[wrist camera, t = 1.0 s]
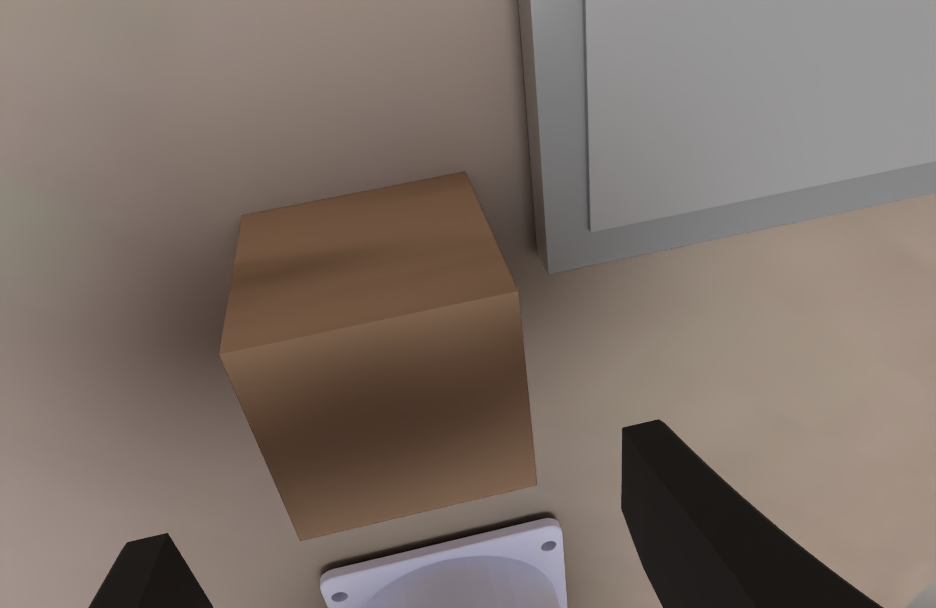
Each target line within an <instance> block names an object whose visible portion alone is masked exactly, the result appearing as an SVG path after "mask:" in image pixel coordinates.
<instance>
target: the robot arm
mask: <svg viewBox="0 0 936 608" xmlns="http://www.w3.org/2000/svg"><path fill="white" fill-rule="evenodd" d="M621 509H622V512H623V515H624V517H625V520H626V523H627V526H628V528H629V531H630V534H631V537H632V539H633V542H634V545H635V547H636V550H637V552H638V555H639V558H640V560H641V563H642V565H643V568H644V570H645V572H646V574H647V576H648V578H649V580H650V582H651V584H652V586H653V588H654V590H655V592H656V594H657V596H658V598H659V600H660V602H661V604H662V606H663V608H883V607H882V606H880V605H879V604H877V603H876V602H874V601H873V600H871V599H870V598H869V597H867V596H866V595H864V594H863V593H862V592H860V591H859V590H858V589H856V588H855V587H853V586H852V585H851V584H849V583H848V582H847V581H845V580H844V579H843V578H841V577H840V576H839V575H837V574H836V573H835V572H833V571H832V570H831V569H829V568H828V567H827V566H826V565H824V564H823V563H822V562H820V561H819V560H818V559H817V558H815V557H814V556H813V555H811V554H810V553H809V552H808V551H806V550H805V549H804V548H803V547H801V546H800V545H799V544H798V543H796V542H795V541H794V540H793V539H791V538H790V537H789V536H788V535H787V534H785V533H784V532H783V531H782V530H780V529H779V528H778V527H777V526H776V525H775V524H773V523H772V522H771V521H770V520H769V519H768V518H766V517H765V516H764V515H763V514H762V513H761V512H759V511H758V510H757V509H756V508H755V507H754V506H752V505H751V504H750V503H749V502H748V501H747V500H746V499H744V498H743V497H742V496H741V495H740V494H739V493H738V492H736V491H735V490H734V489H733V488H732V487H731V486H730V485H729V484H728V483H726V482H725V481H724V480H723V479H722V478H721V477H720V476H719V475H718V474H717V473H716V472H715V471H714V470H712V469H711V468H710V467H709V466H708V465H707V464H706V463H705V462H704V461H703V460H702V459H701V458H700V457H699V456H698V455H697V454H696V453H695V452H693V451H692V450H691V449H690V448H689V447H688V446H687V445H686V444H685V443H684V442H683V441H682V440H681V439H680V438H679V437H678V436H677V435H676V434H675V433H674V432H673V431H672V430H671V429H670V428H669V427H668V426H667V425H666V424H665V423H664V422H662V421H661V420H659V419H658V420H654V421H650V422H645V423H641V424H637V425H632V426H628V427H624V428H622V495H621ZM320 591H321V593H322V595H323V598H324V600H325V602H326V605H327V607H328V608H567V593H566V579H565V565H564V551H563V537H562V530H561V527H560V525H559V522H558V521H557V520H555V519H552V518H544V519H540V520H536V521H531V522H527V523H523V524H519V525H515V526H511V527H506V528H502V529H498V530H494V531H490V532H486V533H481V534H477V535H473V536H469V537H465V538H461V539H456V540H452V541H448V542H444V543H440V544H436V545H431V546H427V547H423V548H419V549H415V550H411V551H406V552H402V553H398V554H394V555H390V556H386V557H381V558H377V559H373V560H369V561H365V562H361V563H356V564H352V565H348V566H344V567H340V568H336V569H332V570H329V571H327V572H326V573H324V574H323V575H322V576H321V578H320ZM89 608H213V606H212V604H211V603H210V601H209V599H208V598H207V596H206V594H205V593H204V591H203V590H202V588H201V586H200V585H199V583H198V581H197V580H196V578H195V577H194V575H193V573H192V572H191V570H190V568H189V567H188V565H187V564H186V562H185V560H184V559H183V557H182V555H181V554H180V552H179V551H178V549H177V547H176V546H175V544H174V542H173V541H172V539H171V538H170V536H169V534H168V533H165V534H161V535H157V536H152V537H148V538H144V539H139V540H135V541H131V542H127V543H126V545H125V546H124V547H123V549H122V551H121V552H120V554H119V556H118V557H117V559H116V561H115V563H114V564H113V566H112V568H111V569H110V571H109V573H108V575H107V576H106V578H105V580H104V582H103V583H102V585H101V587H100V589H99V590H98V592H97V594H96V596H95V597H94V599H93V601H92V602H91V604H90V606H89Z"/></svg>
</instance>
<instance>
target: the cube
mask: <svg viewBox="0 0 936 608" xmlns="http://www.w3.org/2000/svg"><path fill="white" fill-rule="evenodd" d="M219 356H220V359H221V361H222V363H223V365H224V368H225V370H226V372H227V375H228V377H229V379H230V382H231V384H232V386H233V388H234V391H235V393H236V395H237V398H238V400H239V402H240V404H241V407H242V409H243V411H244V414H245V416H246V418H247V420H248V423H249V425H250V427H251V430H252V432H253V434H254V436H255V439H256V441H257V443H258V446H259V448H260V450H261V453H262V455H263V457H264V459H265V462H266V464H267V466H268V469H269V471H270V473H271V475H272V478H273V480H274V482H275V485H276V487H277V489H278V491H279V494H280V496H281V498H282V501H283V503H284V505H285V507H286V510H287V512H288V514H289V517H290V519H291V521H292V524H293V526H294V528H295V530H296V533H297V535H298V537H299V540H300V541H302V540H306V539H311V538H315V537H319V536H323V535H328V534H332V533H336V532H340V531H345V530H349V529H353V528H357V527H362V526H366V525H370V524H374V523H379V522H383V521H387V520H391V519H396V518H400V517H404V516H408V515H413V514H417V513H421V512H425V511H430V510H434V509H438V508H442V507H447V506H451V505H455V504H459V503H464V502H468V501H472V500H476V499H481V498H485V497H489V496H493V495H498V494H502V493H506V492H510V491H515V490H519V489H523V488H527V487H532V486H536V485H537V475H536V465H535V455H534V445H533V435H532V425H531V415H530V404H529V394H528V384H527V374H526V364H525V354H524V344H523V333H522V323H521V313H520V303H519V293H518V289H517V287H516V285H515V283H514V280H513V278H512V276H511V274H510V271H509V269H508V267H507V265H506V262H505V260H504V258H503V256H502V253H501V251H500V249H499V247H498V244H497V242H496V240H495V238H494V235H493V233H492V231H491V229H490V227H489V224H488V222H487V220H486V218H485V215H484V213H483V211H482V209H481V206H480V204H479V202H478V200H477V197H476V195H475V193H474V191H473V188H472V186H471V184H470V182H469V179H468V177H467V175H466V173H465V172H460V173H455V174H450V175H445V176H439V177H434V178H429V179H424V180H419V181H414V182H409V183H404V184H399V185H394V186H389V187H384V188H379V189H374V190H368V191H363V192H358V193H353V194H348V195H343V196H338V197H333V198H328V199H323V200H318V201H313V202H308V203H302V204H297V205H292V206H287V207H282V208H277V209H272V210H267V211H262V212H257V213H252V214H247V215H242V219H241V225H240V231H239V237H238V243H237V249H236V255H235V261H234V267H233V273H232V279H231V285H230V291H229V297H228V303H227V308H226V314H225V320H224V326H223V332H222V338H221V344H220V350H219Z"/></svg>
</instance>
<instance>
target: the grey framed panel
mask: <svg viewBox="0 0 936 608" xmlns="http://www.w3.org/2000/svg"><path fill="white" fill-rule="evenodd" d="M518 5H519V18H520V32H521V45H522V58H523V71H524V84H525V98H526V111H527V124H528V137H529V151H530V164H531V177H532V190H533V203H534V217H535V230H536V243H537V254H538V256H539V258H540V259H541V261H542V263H543V265H544V267H545V269H546V271H547V273H548V274H554V273H558V272H563V271H568V270H573V269H577V268H582V267H587V266H592V265H596V264H601V263H606V262H611V261H615V260H620V259H625V258H630V257H634V256H639V255H644V254H649V253H653V252H658V251H663V250H668V249H672V248H677V247H682V246H687V245H691V244H696V243H701V242H706V241H710V240H715V239H720V238H725V237H729V236H734V235H739V234H744V233H748V232H753V231H758V230H763V229H767V228H772V227H777V226H781V225H786V224H791V223H796V222H800V221H805V220H810V219H815V218H819V217H824V216H829V215H834V214H838V213H843V212H848V211H853V210H857V209H862V208H867V207H872V206H876V205H881V204H886V203H891V202H895V201H900V200H905V199H910V198H914V197H919V196H924V195H929V194H933V193H936V0H518Z"/></svg>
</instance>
